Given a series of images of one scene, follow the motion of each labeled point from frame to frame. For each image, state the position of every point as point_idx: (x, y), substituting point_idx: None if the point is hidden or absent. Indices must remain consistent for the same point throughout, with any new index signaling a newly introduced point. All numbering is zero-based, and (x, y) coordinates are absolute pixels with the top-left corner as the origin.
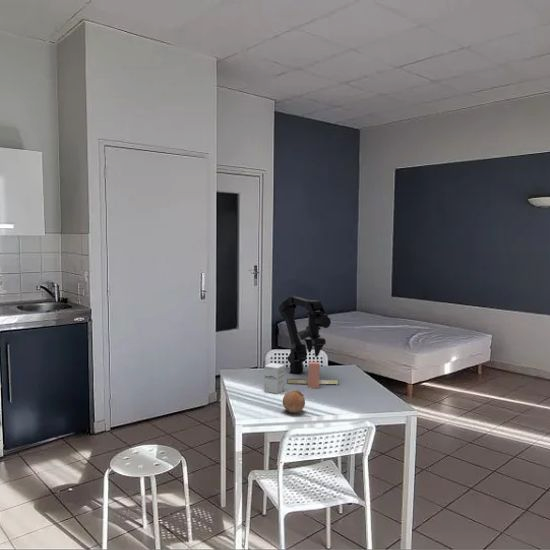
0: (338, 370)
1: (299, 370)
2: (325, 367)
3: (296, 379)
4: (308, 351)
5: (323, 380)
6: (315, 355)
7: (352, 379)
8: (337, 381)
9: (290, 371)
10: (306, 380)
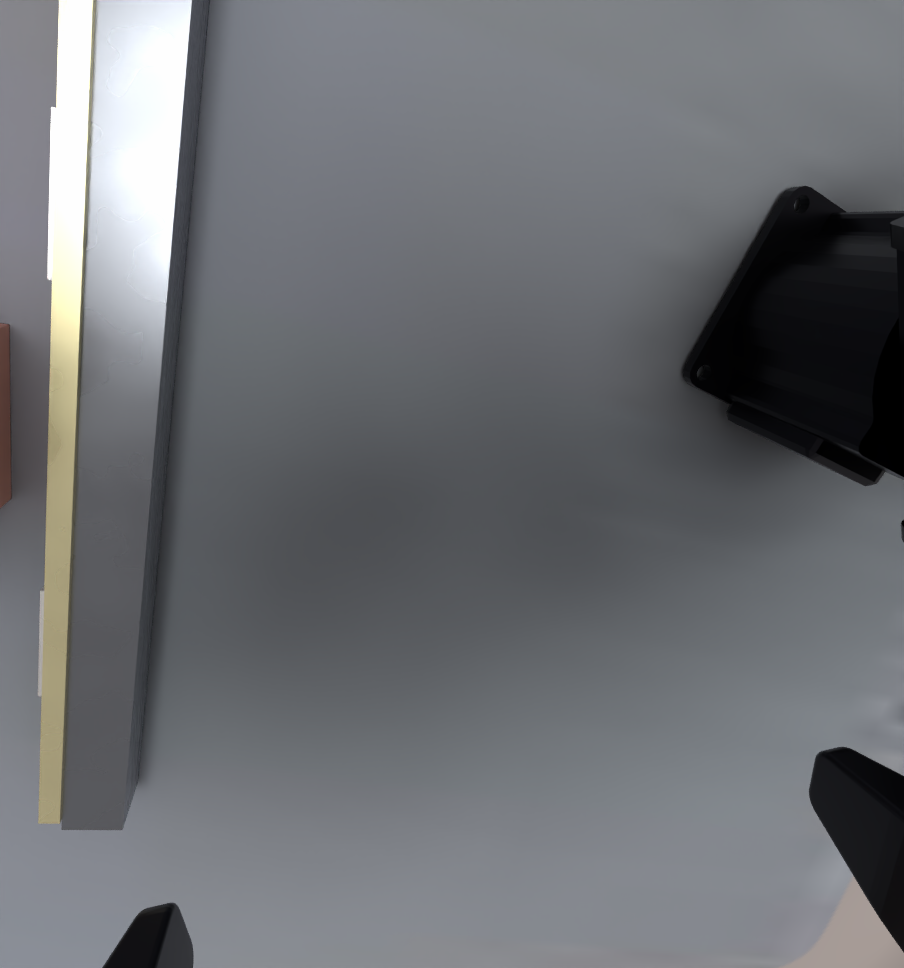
0: (706, 846)
1: (758, 370)
2: (860, 743)
3: (129, 103)
4: (853, 774)
5: (42, 628)
6: (105, 964)
7: (332, 933)
8: (43, 808)
9: (834, 215)
10: (54, 319)
